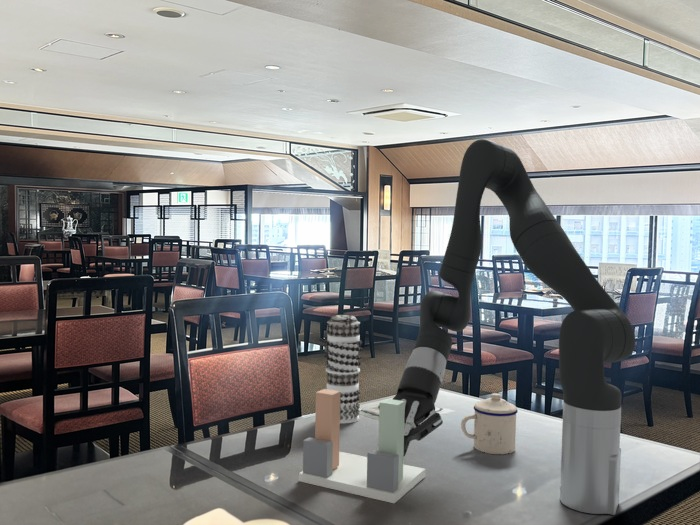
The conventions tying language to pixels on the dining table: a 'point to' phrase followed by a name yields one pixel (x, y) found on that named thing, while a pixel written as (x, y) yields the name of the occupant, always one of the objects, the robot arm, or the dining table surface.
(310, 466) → the twin block stand
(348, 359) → the decorative candle
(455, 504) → the dining table surface
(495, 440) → the teacup with lid
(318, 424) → the terracotta tab
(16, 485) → the dining table surface
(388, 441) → the sage tab
